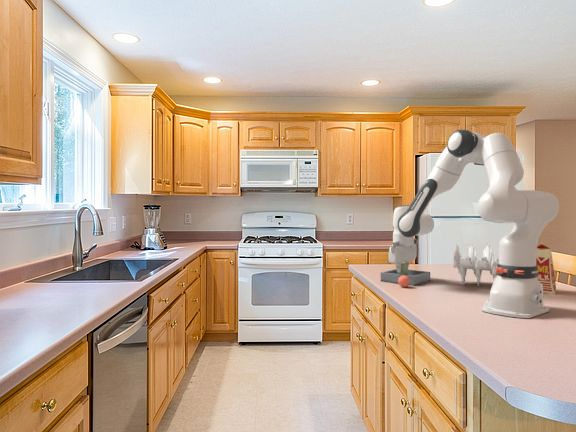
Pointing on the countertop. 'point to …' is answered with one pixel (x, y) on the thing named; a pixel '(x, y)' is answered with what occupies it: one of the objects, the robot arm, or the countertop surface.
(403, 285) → the tomato ball
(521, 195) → the robot arm
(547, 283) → the milk carton
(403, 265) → the cucumber chunk
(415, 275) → the bin
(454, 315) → the countertop surface
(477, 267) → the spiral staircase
